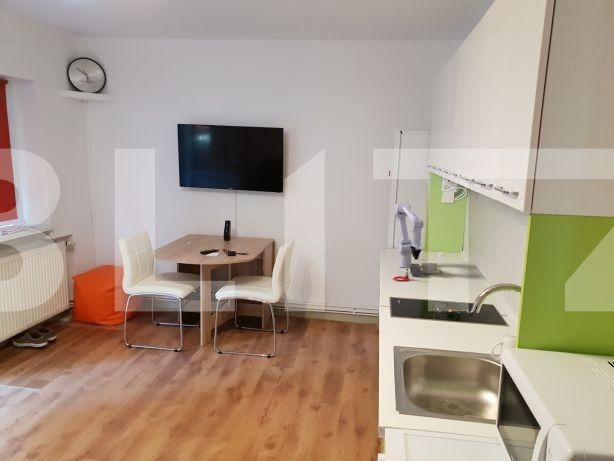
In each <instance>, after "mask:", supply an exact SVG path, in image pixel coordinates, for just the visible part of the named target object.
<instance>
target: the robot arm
mask: <svg viewBox="0 0 614 461" xmlns="http://www.w3.org/2000/svg"><path fill="white" fill-rule="evenodd" d="M411 207H412V206H411V204H410V203H396V204H395V205H394V208H393V209H394V215H395V217H396V218H397V221H398V226H399V232H400V240H399V241H398V244H397V245H398V248H397V250H398V252H399V254H400V259H399V263H398V265H399V267H400V268H405V269H406V259H408V269H410V268H411V263H412V257H413V259H414V260H415V261H417V260H419V258H420V255H421V252H422V249H421V248H420V247H421V245H422V244H421V242H422V241H421V240H422V229H423V227H424V221H423V219H421V218H419V217H418V216H417V214H416V213H415V212H412V210H411V209H412V208H411ZM406 217H407V219H408V221H409V222H410V226H411V240H410V239H409V233H408V228H407V227H408V226H407V221H406Z"/></svg>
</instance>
